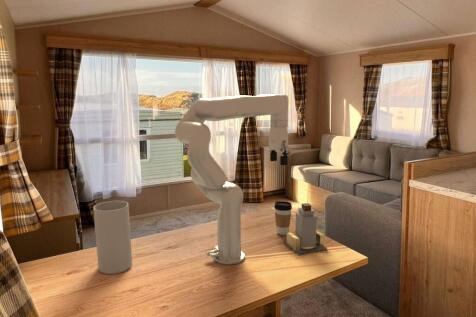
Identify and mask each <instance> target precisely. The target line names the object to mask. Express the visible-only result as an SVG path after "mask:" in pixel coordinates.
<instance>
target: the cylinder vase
mask: <svg viewBox="0 0 476 317" xmlns="http://www.w3.org/2000/svg"><path fill="white" fill-rule="evenodd" d="M129 208H130V207H129V202H127V201H124V200H110V201H104V202H103V201H102V202H99V203H97V204H95V205H93V208H92V209H93V218H94V232H95V242H96V244H95V245H96V254H97V267H98V270H99V272H101V273H103V274H104V275H105V274H106V275H114V274H120V273H121V274H122V273H123V272H126V271H127V270H129V269H130V268H131V267H132V265H133V256H132V253H133V252H132V240H131V238H132V237H131V223H130V209H129Z"/></svg>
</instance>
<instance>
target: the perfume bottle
mask: <svg viewBox="0 0 476 317" xmlns="http://www.w3.org/2000/svg"><path fill="white" fill-rule="evenodd" d="M297 209H298V212H295V230H294V231H295V234H294V235H296V236H297V237H298V238H300V247H301V248H304V247H313V246H316V230H317V225H318V223H317V221H318V218H317V217H318V216H317V215H316V214H315V213H316V211H315V210H314V209H313V208H312V204H310V203H309V202H307V203H306V202H305V203H301V207H298V208H297Z"/></svg>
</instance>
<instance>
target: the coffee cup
mask: <svg viewBox="0 0 476 317" xmlns="http://www.w3.org/2000/svg"><path fill="white" fill-rule="evenodd" d="M292 210H293V206H292V203H291V202H289V201H285V200H279V201H278V200H277V201H275V203H274V218H275V225H276V226H275V228H276V230H275V231H276V234H278V235H282V236H283V235H286V236H287V233H288V232H290V226H291V225H290V224H291V216H292Z"/></svg>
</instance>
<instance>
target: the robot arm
mask: <svg viewBox="0 0 476 317" xmlns="http://www.w3.org/2000/svg"><path fill="white" fill-rule="evenodd" d="M262 116H270V121H269V122H270V123H269V124H270V125H269V126H270V127H269V135H268V148H269V161H270V162H277V161H278V152H279V153H280V157H279V158H280V160H279V165H280V166H287V165H288V159H289V153H290V145H289V133H288V132H289V131H288V128H289V96H288V95H287V94H276V93H275V94H274V93H273V94H271V93H269V94H268V93H265V94H258V95H256V96H255V95H253V96H252V95H234V96H223V97H212V98H211V97H209V98H207V97H206V98H205V97H202V98H199V99H197V100H196V101H195V102H194V103H193V104H192V105H191V106H190V108H188V110H187V111H186V112H185V114H183V116H182V118H181V119H180V120H179V121H178V123H177V124H176V126H175V129H174V134H175V138H176V139H177V140H178V141H179V142H180V143H182V144H187V146H188V147H187V152H186V155H187V156H186V158H187V162H188V164H189V167H191V170H190V178H191V180H192V182H193V183H194V184H195V185H196V187H197V188H198V189H199V190H200V191H201V192H202V193H203V195H204V196H205V197H206V198H208V200H210V201H212V202H214V203H217V204H218V205H219V206H220V207H219V210H218V212H217V216H216V218H217V219H216V220H217V221H216V222H217V225H216V226H217V229H216V232H217V245H216V246H215V248H214V249H213V250H207V251H205V254H206V257H209V256H210V257H211V258H213V259H214V261H215V262H217V263H219V264H222V265H228V266H229V265H237V264H240V263H242V262H243V261H244V260H245V258H246V254H245V253H244V252H243V251H242V206H243V201H244V192H243V189H242V188H241V187H240V186H239V185H238V184H235V183H233V182H230V181H228V180H227V175H226V173H225V171H224V169H223V168H222V167H221V166H220V164H219V163H218V162H217V161H216V160H215V158H214V157H213V156H212V154H211V152H210V142H211V139H212V132H211V129H210V128H209V126H208V125H207V124H205V122H206V121H208V122H220V121H228V120H233V119H234V120H235V119H242V118H244V119H245V118H252V117H262Z"/></svg>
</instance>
